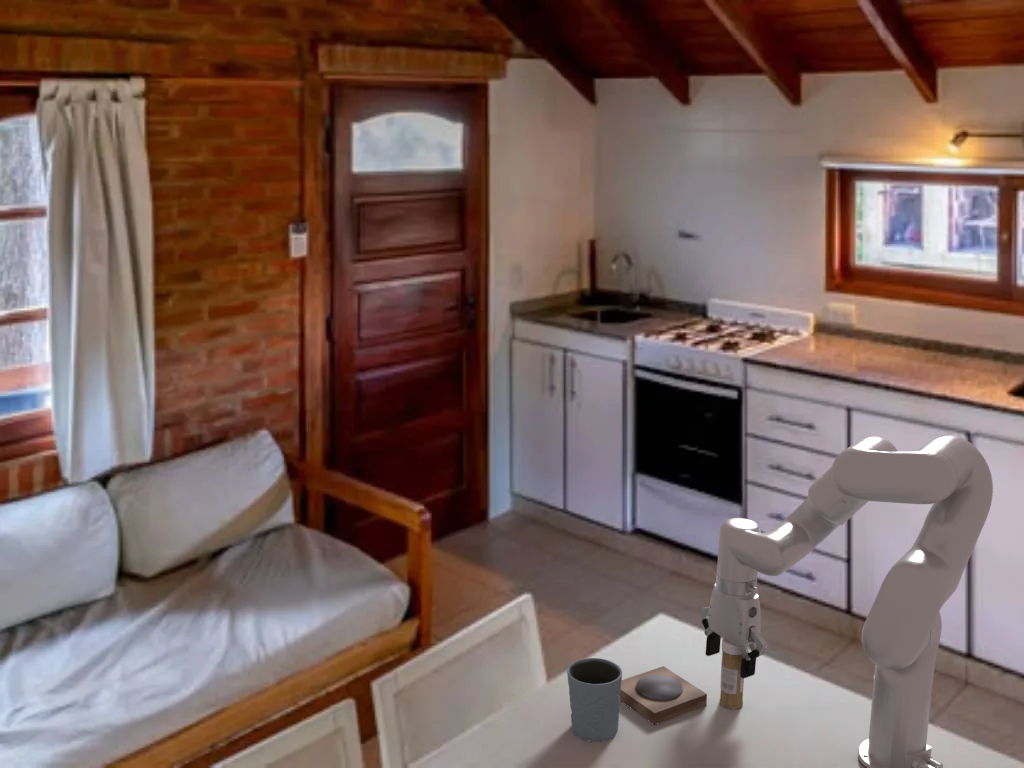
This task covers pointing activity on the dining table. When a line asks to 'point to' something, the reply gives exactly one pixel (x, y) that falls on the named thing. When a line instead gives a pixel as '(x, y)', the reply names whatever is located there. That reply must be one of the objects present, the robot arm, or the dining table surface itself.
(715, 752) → the dining table surface
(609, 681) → the blue-grey cup
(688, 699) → the walnut base
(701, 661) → the dining table surface
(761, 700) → the dining table surface
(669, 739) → the dining table surface
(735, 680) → the sprinkles bottle
